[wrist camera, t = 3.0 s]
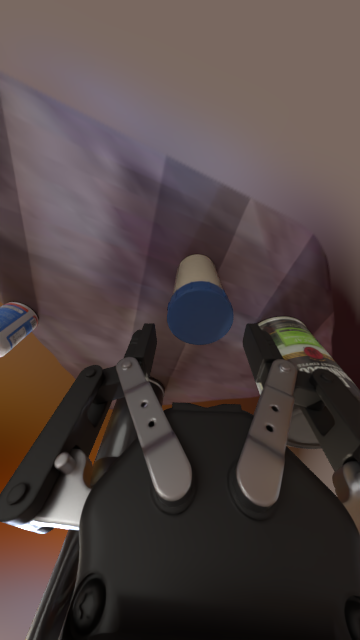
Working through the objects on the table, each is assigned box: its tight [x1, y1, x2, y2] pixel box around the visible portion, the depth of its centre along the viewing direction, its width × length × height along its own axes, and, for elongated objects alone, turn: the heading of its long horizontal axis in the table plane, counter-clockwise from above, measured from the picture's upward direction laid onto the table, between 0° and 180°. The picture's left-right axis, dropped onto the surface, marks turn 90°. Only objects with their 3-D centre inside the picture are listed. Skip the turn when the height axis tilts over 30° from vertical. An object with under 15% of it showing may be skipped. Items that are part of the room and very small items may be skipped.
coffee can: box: [256, 317, 360, 449], centre depth 25 cm, size 10×10×14 cm
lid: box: [167, 281, 233, 345], centre depth 17 cm, size 6×6×2 cm
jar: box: [173, 254, 223, 294], centre depth 21 cm, size 5×5×11 cm
